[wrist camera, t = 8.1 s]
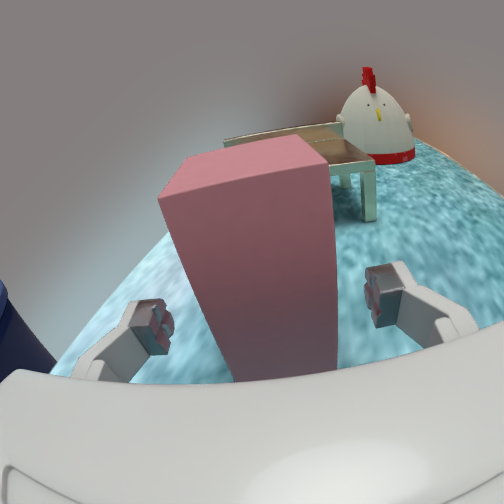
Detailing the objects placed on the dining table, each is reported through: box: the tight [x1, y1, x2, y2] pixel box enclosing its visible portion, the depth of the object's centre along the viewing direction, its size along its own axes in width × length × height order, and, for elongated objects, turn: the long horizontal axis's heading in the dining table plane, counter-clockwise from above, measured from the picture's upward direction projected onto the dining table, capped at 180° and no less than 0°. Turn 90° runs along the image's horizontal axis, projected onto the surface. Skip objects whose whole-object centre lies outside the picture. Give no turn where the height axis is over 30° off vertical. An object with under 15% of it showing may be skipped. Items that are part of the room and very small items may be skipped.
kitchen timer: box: [336, 67, 415, 165], centre depth 39 cm, size 14×14×15 cm
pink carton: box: [158, 134, 338, 382], centre depth 13 cm, size 5×5×11 cm
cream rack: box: [223, 121, 377, 222], centre depth 29 cm, size 14×11×8 cm
